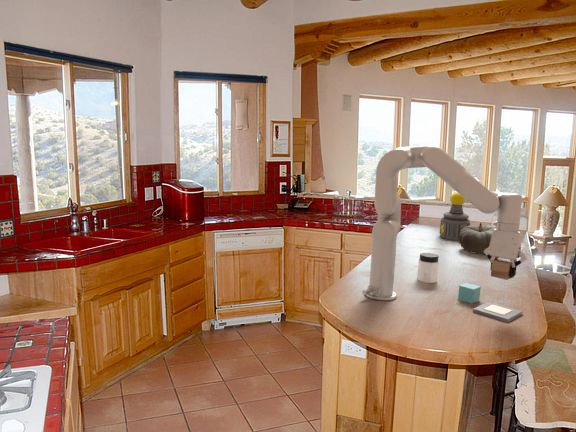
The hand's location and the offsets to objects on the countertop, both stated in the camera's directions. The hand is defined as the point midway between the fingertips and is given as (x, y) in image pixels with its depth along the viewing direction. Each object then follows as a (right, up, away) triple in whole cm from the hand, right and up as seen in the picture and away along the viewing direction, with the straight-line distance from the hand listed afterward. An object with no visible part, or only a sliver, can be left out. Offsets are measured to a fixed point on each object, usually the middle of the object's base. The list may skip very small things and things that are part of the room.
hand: (502, 274), depth 178 cm
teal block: (-7, -12, +16) cm, 21 cm away
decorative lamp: (+30, +7, +140) cm, 143 cm away
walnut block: (0, -1, 0) cm, 1 cm away
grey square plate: (-1, -15, +3) cm, 15 cm away
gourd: (+32, +1, +101) cm, 106 cm away
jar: (-16, -8, +41) cm, 45 cm away
